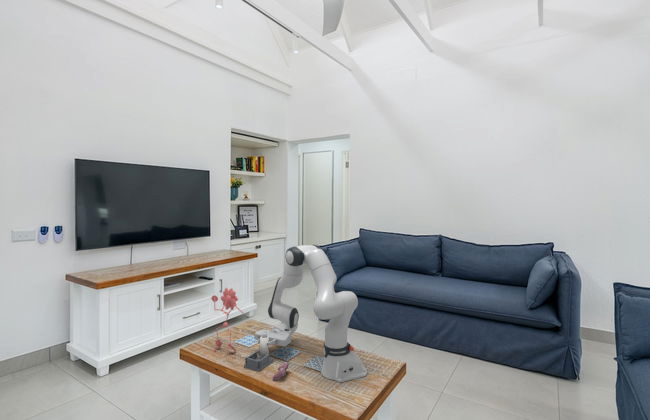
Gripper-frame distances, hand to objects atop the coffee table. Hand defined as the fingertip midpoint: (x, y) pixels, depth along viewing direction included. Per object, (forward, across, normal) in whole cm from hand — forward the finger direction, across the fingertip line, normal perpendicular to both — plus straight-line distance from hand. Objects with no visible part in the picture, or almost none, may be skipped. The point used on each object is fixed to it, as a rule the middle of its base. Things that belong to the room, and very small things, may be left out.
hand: (263, 343), depth 169 cm
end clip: (+4, 0, +10) cm, 10 cm away
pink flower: (-3, -26, +10) cm, 27 cm away
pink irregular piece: (+8, +16, +10) cm, 21 cm away
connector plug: (-1, 0, +7) cm, 7 cm away
